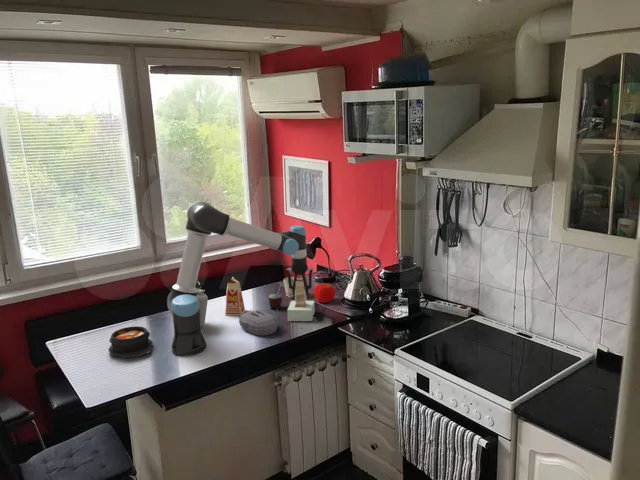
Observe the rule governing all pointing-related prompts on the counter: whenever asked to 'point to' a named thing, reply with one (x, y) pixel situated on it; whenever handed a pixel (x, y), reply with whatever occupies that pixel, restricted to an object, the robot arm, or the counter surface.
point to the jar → (202, 304)
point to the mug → (288, 291)
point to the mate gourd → (275, 299)
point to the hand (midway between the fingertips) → (300, 301)
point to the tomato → (324, 292)
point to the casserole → (130, 342)
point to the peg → (300, 293)
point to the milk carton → (234, 299)
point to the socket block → (301, 311)
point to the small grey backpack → (258, 323)
